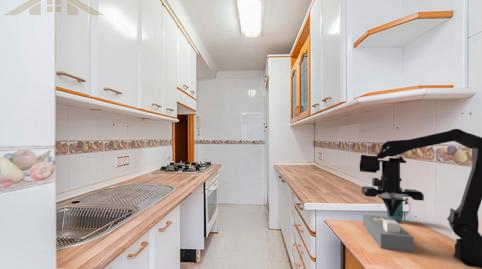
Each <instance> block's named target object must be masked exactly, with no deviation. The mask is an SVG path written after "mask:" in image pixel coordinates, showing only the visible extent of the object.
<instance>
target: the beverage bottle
mask: <svg viewBox="0 0 482 269" xmlns="http://www.w3.org/2000/svg"><path fill="white" fill-rule="evenodd" d="M400 190H402V191H404V189H403V188H402V187H401V186H400ZM390 196H392V195H389V198H390ZM390 199H391V198H390ZM403 215H404V201H402V202H401V204H400V205H399V206H398V208H397V210H396V211H395V213H394V215H393V217H391V216H389V214H388V211H387V210H386V217H389V218H390V219H392V220H394V221H396V220H397V221H402V220H403V218H404V216H403Z"/></svg>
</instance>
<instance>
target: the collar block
mask: <svg viewBox="0 0 482 269" xmlns="http://www.w3.org/2000/svg"><path fill="white" fill-rule="evenodd" d="M373 217H374V218H383V219H384V220H393V219H391V218H389V217H387V215H386V216H385V215H376V214H375V215H373V214H362V226H363V225H364V226H365V227H366V229H367V230H368V231H367V230H366V229H365V230H366V231H367V233H368V234H369V233H370V234H371V235H370V234H369V235H370V236H371V238H372V239H373V238H374V239H373V240H374V241H375V243H376V244H377V245H378V246H379V248H381V249H385V250H386V249H388V250H392V251H393V250H395V251H400V252H401V251H403V252H410V253H414V250H415V249H414V248H415V246H414V245H415V244H414V241H415V240H414V239H415V238H414V236H413V235H412V234H410V233H409V232H407V230H405V229H404V228H403V227H401V226H400V233H392V232H386V231H385V230H384V229H383V221H375V220H374V219H373ZM364 226H363V227H364ZM365 227H364V228H365Z"/></svg>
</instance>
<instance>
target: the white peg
mask: <svg viewBox="0 0 482 269" xmlns="http://www.w3.org/2000/svg"><path fill="white" fill-rule="evenodd" d="M400 227H401V224H400V223H399V222H397V221H396V220H395V219H392V220H384V219H383V229H384V230H385V231H386V232H392V233H400Z"/></svg>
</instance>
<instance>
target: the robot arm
mask: <svg viewBox="0 0 482 269" xmlns="http://www.w3.org/2000/svg"><path fill="white" fill-rule="evenodd" d="M450 142H451V143H452V142H454V143H458V144H459V145H462V146H463V147H466V148H468V149H470V150H471V161H472V162H471V164H472V166H471V169H470V173H469V175H468V178H467V181H466V184H465V188H464V192H463V195H462V198H461V201H460V204H459V206H458V207H457V208H456V209H454V208H452V207H450V209H449V215H448V217H447V218H446V220H447V221H448V225H449V227H450V228H451V230H452V232H454V234H455V235H456V236H457V237H459V238H456V243H454V253H453V254H452V256H453V257H455V258H456V259H458V261H460V262H461V263H463V264H464V265H466V266H467V267H468V266H469V267H477V268H482V234H481V233H480V232H479V225H480V224H479V214H478V213H479V210H480V206H481V203H482V137H481V136H479V135H477V134H473V133H469V132H467V131H464V130H462V129H461V128H460V129H459V128H452V129H450V130H446V131H443V132H438V133H433V134H430V135H429V134H428V135H424V136H420V137H415V138H410V139H400V140H387V141H385V142H384V143H383V144H382V145H381V151H380V152H379V153H377V154H376V155H366V154H361V155H360V161H359V172H362V173H370V174H376V173H378V172H380V171H381V176H380V179H379V178H378V177H372V179H371V183H372V186H365V185H363V186H362V187H361V194H363V196H365V197H371V198H372V197H373V198H376V196H377V197H378V198H379V199H381V200H382V201H383V203H384V205H385V208H386V212H387V211H388V214H389V216H391V217H393V215H394V213H395V211H396V210H397V208H398V206H399V205H400V204H401V202H402V201H403V202H406V200H405V199H404V198H405V197H408V198H411V199H412V200H413V201H422V202H423V201H425V198H424V193H423V192H422V191H420V190H417V189H409V188H405V189H403V191H402V190H400V187H401V182H402V177H401V164H406V163H407V160H405V159H404V158H403V157H402V156H399V155H401V154H404V153H406V152H409V151H412V150H417V149H421V148H424V147H432V146H435V145H440V144H445V143H450ZM395 156H396V157H395ZM397 156H399V157H397ZM386 157H389V158H388V160H387V159H385V158H386ZM375 187H377V188H375ZM389 195H392V196H390V198H391V199H390V198H389Z"/></svg>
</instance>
